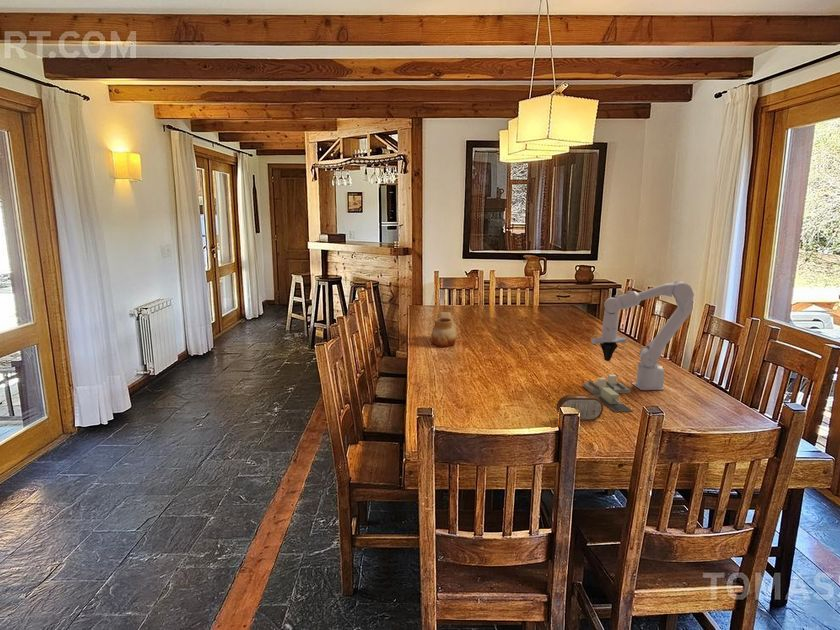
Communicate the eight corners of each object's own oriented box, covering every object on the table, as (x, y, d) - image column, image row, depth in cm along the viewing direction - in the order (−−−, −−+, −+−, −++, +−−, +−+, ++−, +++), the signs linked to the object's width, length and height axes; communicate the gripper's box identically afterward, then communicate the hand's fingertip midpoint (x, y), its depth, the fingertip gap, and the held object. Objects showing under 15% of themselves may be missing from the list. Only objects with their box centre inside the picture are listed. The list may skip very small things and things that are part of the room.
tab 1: (603, 386, 201) (604, 377, 200) (606, 388, 199) (607, 379, 198) (596, 386, 201) (597, 377, 200) (598, 388, 198) (599, 379, 198)
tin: (599, 418, 173) (601, 394, 172) (603, 421, 170) (605, 397, 169) (555, 417, 173) (557, 393, 171) (558, 421, 170) (559, 397, 168)
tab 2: (613, 383, 206) (614, 374, 205) (616, 384, 203) (617, 376, 202) (606, 383, 205) (607, 374, 205) (609, 385, 203) (610, 376, 202)
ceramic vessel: (457, 336, 288) (458, 310, 285) (456, 348, 262) (457, 319, 259) (432, 336, 289) (433, 309, 286) (429, 347, 263) (430, 318, 260)
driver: (608, 396, 194) (609, 387, 193) (624, 409, 181) (625, 399, 181) (600, 396, 194) (601, 387, 193) (616, 409, 181) (617, 399, 180)
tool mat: (610, 394, 197) (610, 393, 197) (633, 411, 179) (633, 411, 179) (592, 394, 196) (592, 394, 196) (613, 412, 179) (613, 411, 179)
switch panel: (619, 385, 207) (619, 379, 207) (629, 393, 199) (630, 387, 198) (583, 386, 206) (583, 380, 206) (592, 393, 197) (592, 387, 197)
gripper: (598, 330, 201) (596, 363, 204) (632, 329, 204) (629, 362, 207) (589, 326, 208) (587, 359, 211) (622, 325, 211) (619, 357, 214)
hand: (607, 360), depth 209 cm, fingers closed
